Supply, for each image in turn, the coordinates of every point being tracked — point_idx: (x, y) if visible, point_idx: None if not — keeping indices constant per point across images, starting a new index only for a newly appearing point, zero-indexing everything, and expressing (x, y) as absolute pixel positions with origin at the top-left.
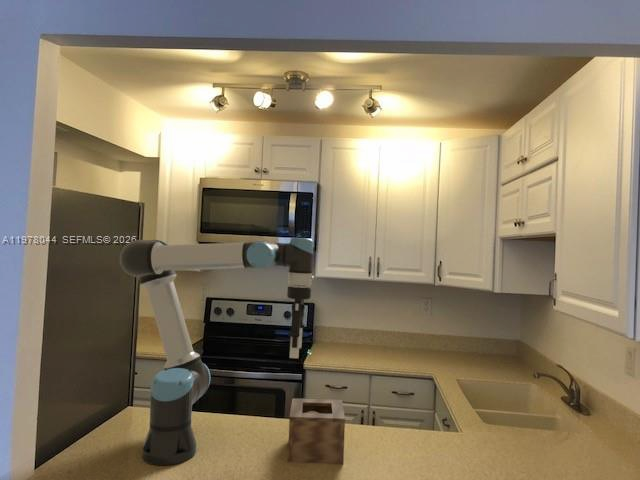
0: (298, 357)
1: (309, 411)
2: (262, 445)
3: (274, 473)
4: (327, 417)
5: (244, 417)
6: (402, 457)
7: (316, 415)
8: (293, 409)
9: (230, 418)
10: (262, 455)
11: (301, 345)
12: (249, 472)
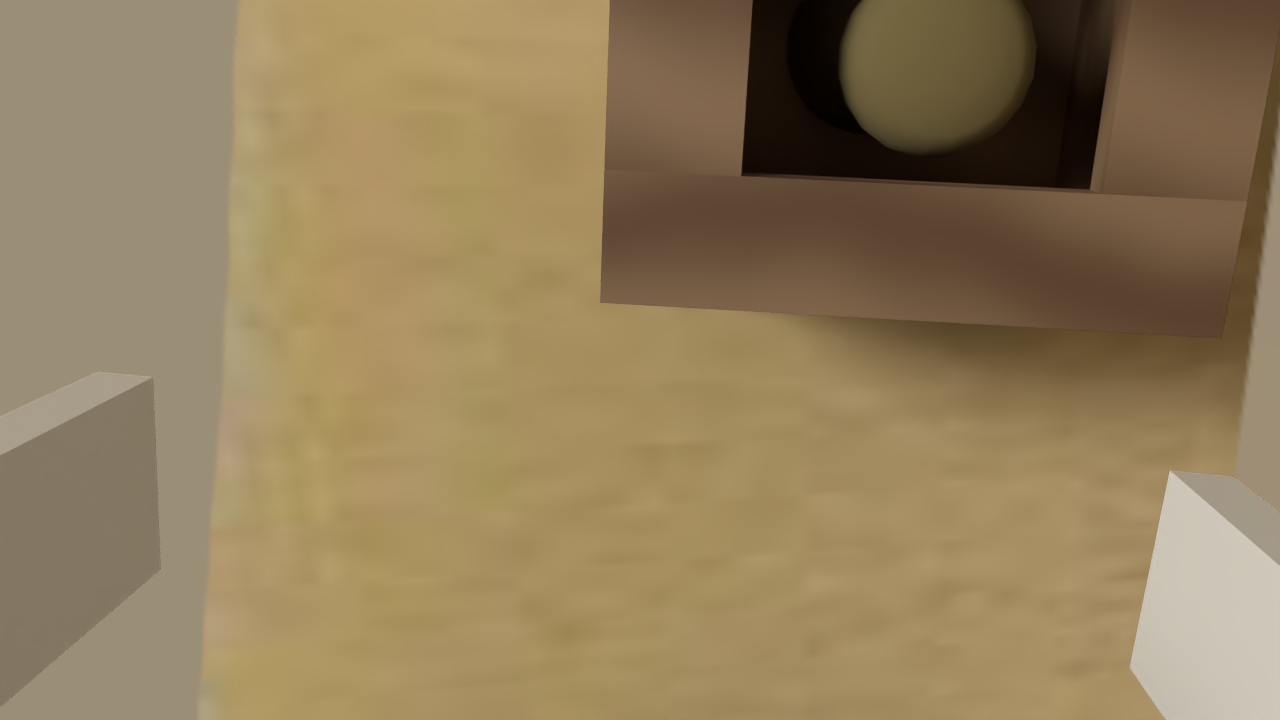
0: (1183, 475)
1: (888, 93)
2: (770, 450)
3: (1235, 346)
4: None
5: (239, 616)
6: None
7: (1205, 17)
8: (987, 293)
9: (275, 715)
10: (942, 442)
11: (70, 389)
12: None
